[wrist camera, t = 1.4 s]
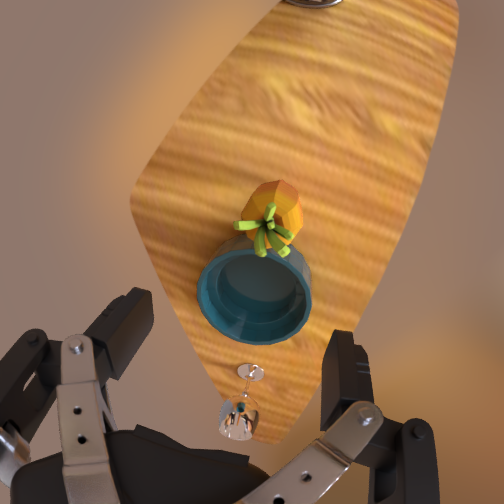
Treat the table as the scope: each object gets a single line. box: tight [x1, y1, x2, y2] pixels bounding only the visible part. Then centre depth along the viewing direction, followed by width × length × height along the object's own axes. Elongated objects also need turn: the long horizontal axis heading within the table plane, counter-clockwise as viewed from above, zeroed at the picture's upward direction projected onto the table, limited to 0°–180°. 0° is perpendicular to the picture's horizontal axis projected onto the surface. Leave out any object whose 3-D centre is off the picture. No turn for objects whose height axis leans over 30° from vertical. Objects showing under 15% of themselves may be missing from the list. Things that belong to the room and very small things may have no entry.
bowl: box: [197, 234, 312, 345], centre depth 35 cm, size 13×13×5 cm
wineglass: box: [219, 364, 264, 440], centre depth 40 cm, size 6×6×12 cm
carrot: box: [233, 180, 303, 258], centre depth 25 cm, size 5×5×15 cm
